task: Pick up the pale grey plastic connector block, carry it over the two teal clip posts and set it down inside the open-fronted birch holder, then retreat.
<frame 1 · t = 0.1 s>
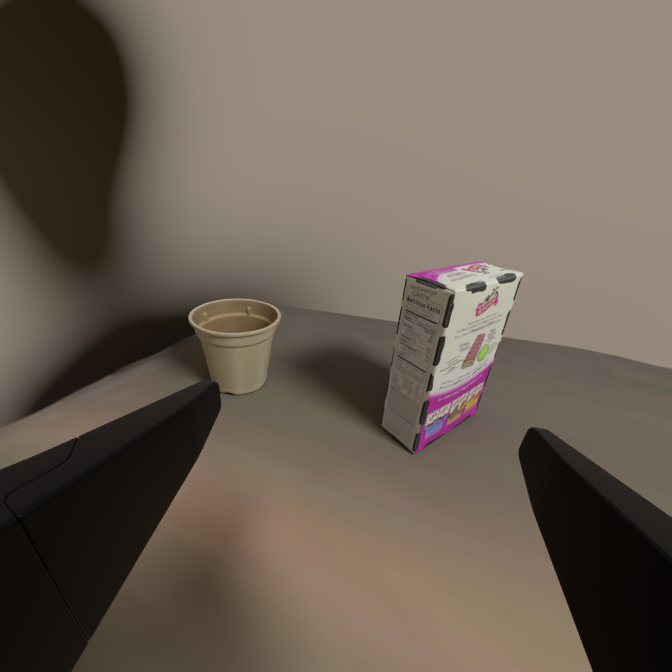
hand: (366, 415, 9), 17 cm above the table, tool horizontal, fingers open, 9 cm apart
candy bar box: (428, 421, 34), on the table
flower pot: (240, 381, 38), on the table
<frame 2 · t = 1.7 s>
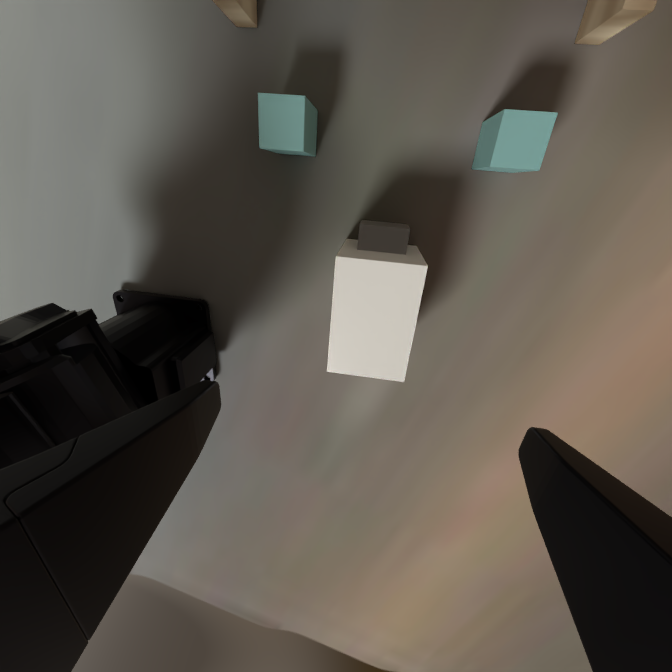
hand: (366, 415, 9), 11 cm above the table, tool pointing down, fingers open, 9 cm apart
connector block: (374, 291, 20), on the table
clip posts: (395, 140, 16), on the table
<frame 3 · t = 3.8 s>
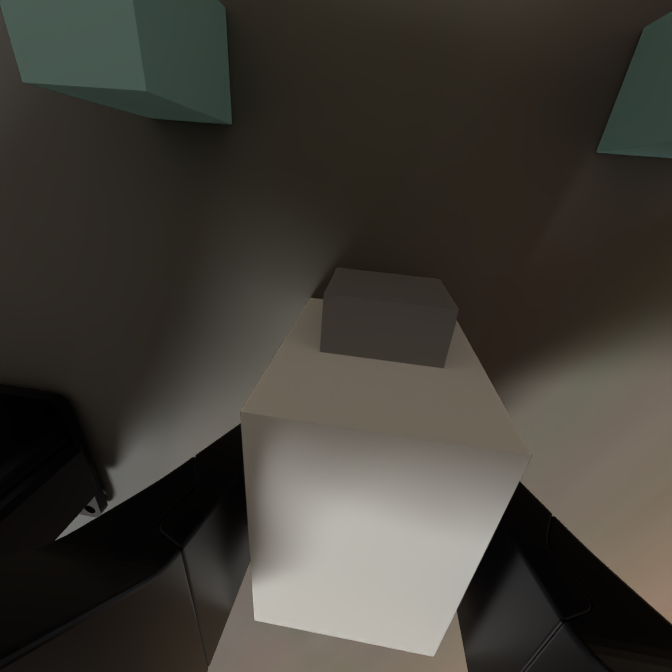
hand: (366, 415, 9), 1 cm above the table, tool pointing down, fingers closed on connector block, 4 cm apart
connector block: (367, 393, 10), on the table, touching gripper
clip posts: (414, 81, 7), on the table
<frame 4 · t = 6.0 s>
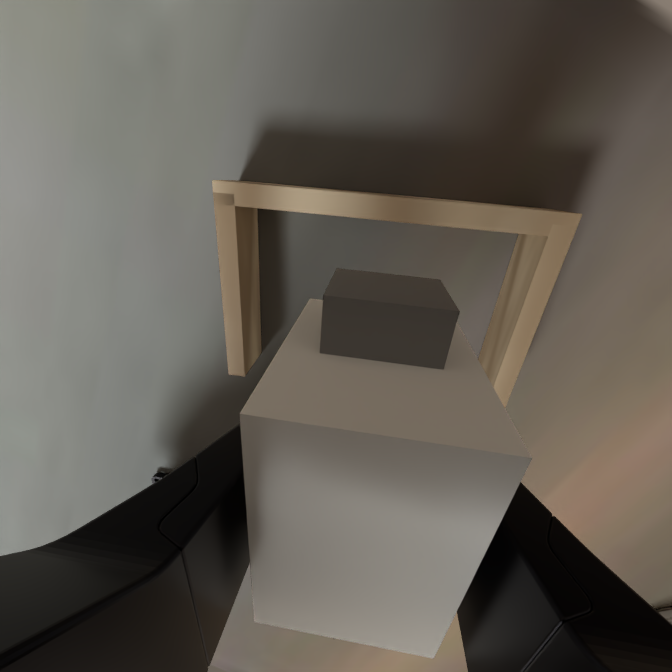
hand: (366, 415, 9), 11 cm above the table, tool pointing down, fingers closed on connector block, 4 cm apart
end holder: (373, 294, 19), on the table
connector block: (367, 394, 10), point 10 cm above the table, touching gripper
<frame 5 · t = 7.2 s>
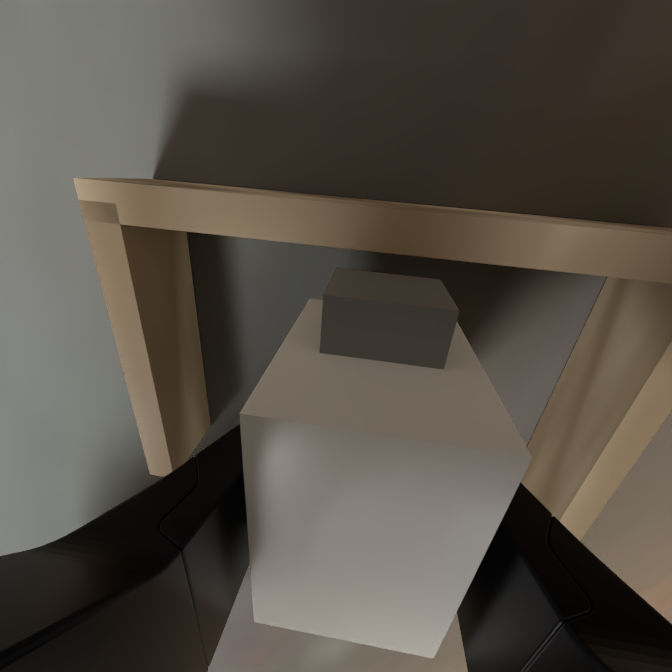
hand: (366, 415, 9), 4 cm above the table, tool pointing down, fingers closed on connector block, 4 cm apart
end holder: (370, 354, 12), on the table
connector block: (367, 394, 10), point 2 cm above the table, touching gripper
when the fingers open (2 cm above the table, at t = 8.2 s): connector block drops 2 cm, on the table.
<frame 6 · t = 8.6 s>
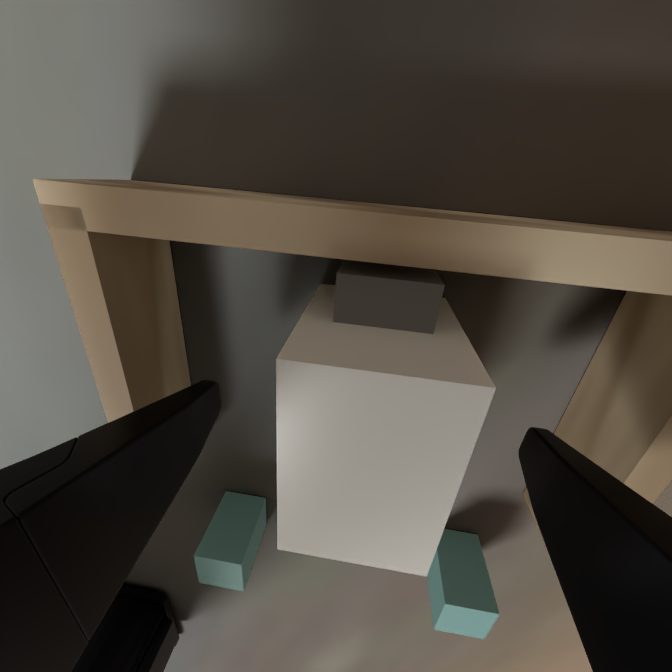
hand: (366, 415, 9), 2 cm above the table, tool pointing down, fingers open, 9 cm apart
end holder: (369, 369, 11), on the table
connector block: (370, 368, 12), on the table
clip posts: (345, 525, 15), on the table
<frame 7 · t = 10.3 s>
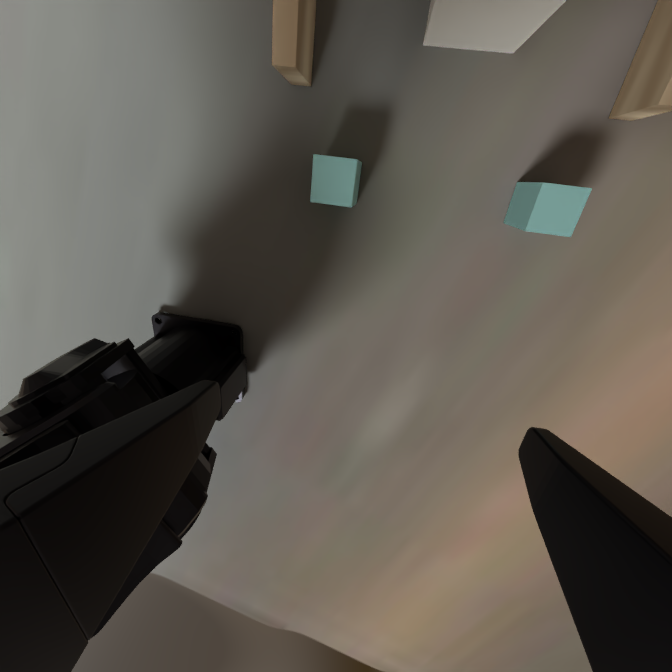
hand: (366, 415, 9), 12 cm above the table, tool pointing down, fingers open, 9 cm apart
clip posts: (433, 193, 17), on the table
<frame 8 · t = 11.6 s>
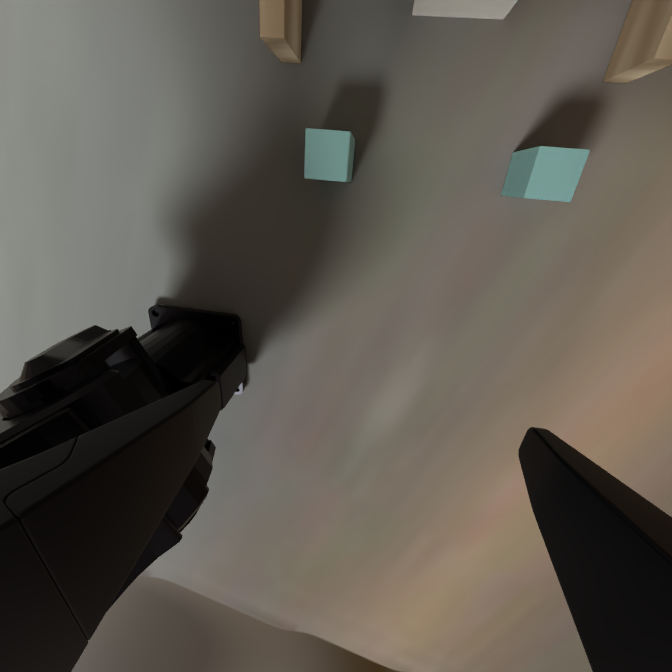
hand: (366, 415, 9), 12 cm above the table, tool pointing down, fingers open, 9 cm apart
clip posts: (428, 167, 17), on the table
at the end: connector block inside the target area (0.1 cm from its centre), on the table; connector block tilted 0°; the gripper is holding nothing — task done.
